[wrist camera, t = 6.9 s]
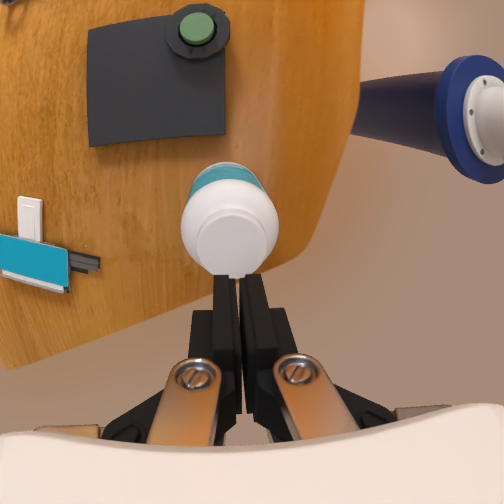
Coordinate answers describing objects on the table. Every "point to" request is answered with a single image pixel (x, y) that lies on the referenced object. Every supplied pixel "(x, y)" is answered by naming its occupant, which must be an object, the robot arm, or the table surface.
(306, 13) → the table surface
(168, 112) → the scale
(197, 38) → the button
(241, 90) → the table surface
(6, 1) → the car model
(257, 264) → the pill bottle
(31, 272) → the blue paper trimmer
